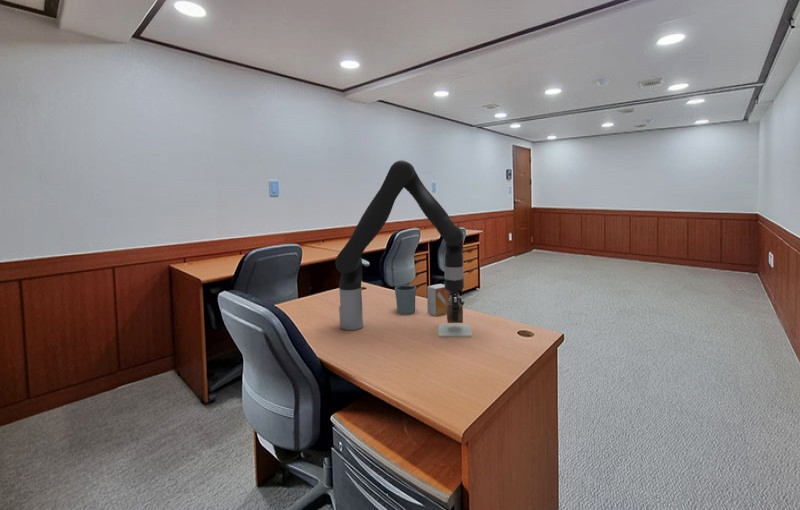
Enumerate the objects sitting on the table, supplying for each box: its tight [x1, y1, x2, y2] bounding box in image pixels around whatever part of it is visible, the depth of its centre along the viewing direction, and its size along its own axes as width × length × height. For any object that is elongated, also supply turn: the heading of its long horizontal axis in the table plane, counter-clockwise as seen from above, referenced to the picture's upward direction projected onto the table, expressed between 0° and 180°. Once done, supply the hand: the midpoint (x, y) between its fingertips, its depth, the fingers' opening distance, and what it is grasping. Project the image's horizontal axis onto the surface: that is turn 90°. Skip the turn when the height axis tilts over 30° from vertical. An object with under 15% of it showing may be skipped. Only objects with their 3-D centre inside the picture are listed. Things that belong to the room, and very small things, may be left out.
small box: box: [426, 283, 450, 317], centre depth 176 cm, size 8×6×13 cm
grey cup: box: [394, 284, 417, 316], centre depth 179 cm, size 10×10×12 cm
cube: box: [446, 303, 464, 324], centre depth 153 cm, size 6×6×6 cm
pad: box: [437, 323, 473, 338], centre depth 154 cm, size 13×13×1 cm
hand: (454, 317), depth 153 cm, fingers closed on cube, 6 cm apart
